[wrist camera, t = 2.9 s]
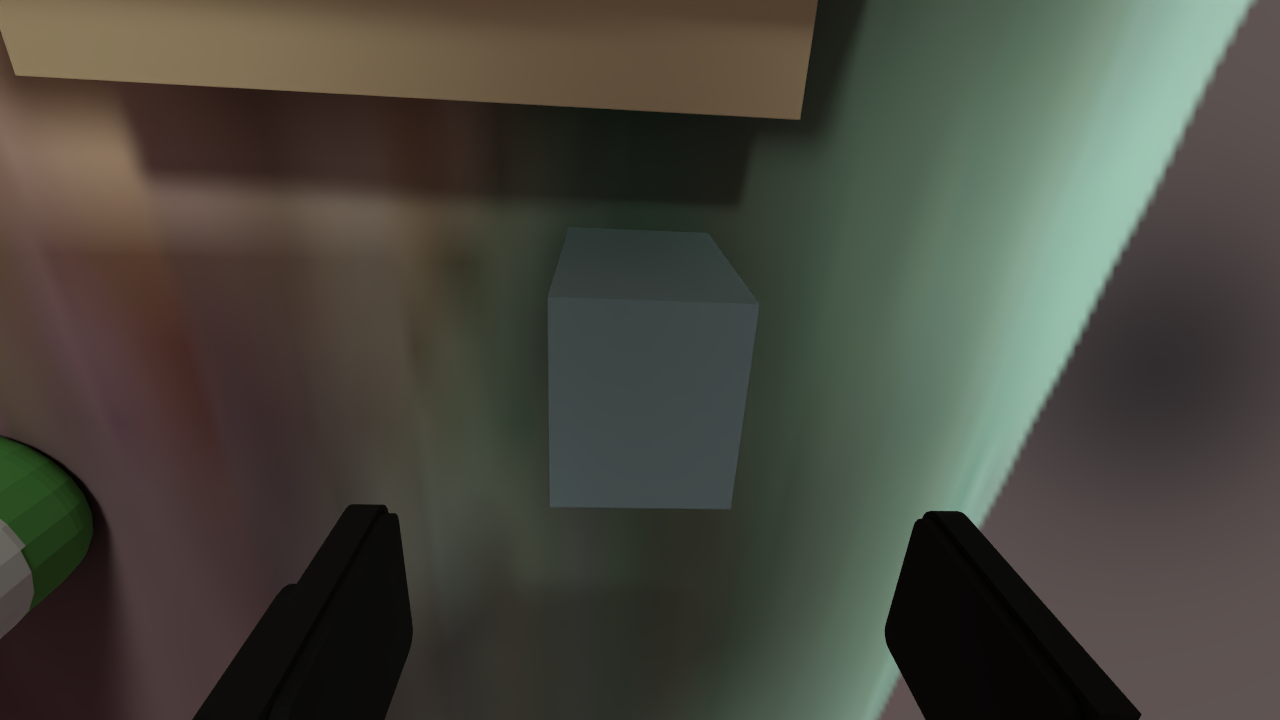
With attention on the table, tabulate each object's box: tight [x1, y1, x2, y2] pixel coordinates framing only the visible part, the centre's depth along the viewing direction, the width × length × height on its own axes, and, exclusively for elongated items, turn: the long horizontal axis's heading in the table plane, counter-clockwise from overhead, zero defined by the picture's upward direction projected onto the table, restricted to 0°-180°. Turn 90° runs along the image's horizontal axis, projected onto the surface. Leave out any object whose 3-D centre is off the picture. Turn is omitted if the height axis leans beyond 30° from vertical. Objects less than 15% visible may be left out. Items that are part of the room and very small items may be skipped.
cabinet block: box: [547, 227, 760, 509], centre depth 19 cm, size 7×5×8 cm
